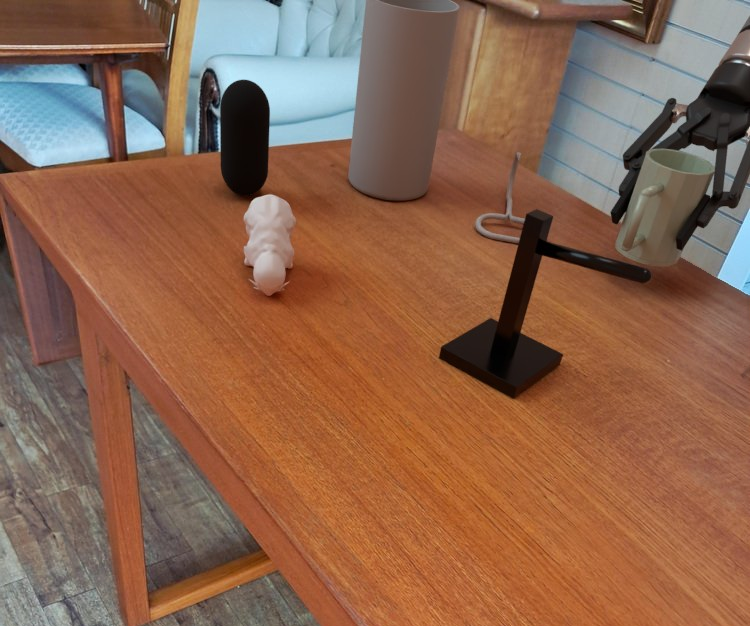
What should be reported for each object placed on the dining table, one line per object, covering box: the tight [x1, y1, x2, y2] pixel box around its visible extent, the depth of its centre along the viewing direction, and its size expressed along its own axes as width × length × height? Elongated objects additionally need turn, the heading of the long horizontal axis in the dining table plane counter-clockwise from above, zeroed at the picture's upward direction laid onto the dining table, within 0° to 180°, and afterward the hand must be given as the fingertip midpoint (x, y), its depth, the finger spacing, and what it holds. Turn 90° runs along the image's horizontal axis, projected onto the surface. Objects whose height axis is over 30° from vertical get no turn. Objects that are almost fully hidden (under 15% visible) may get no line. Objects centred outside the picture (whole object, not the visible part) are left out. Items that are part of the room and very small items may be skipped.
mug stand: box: [438, 208, 653, 399], centre depth 81 cm, size 18×10×17 cm, turn 50°
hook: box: [474, 151, 525, 245], centre depth 118 cm, size 7×9×20 cm
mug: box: [614, 148, 715, 267], centre depth 101 cm, size 13×9×12 cm, turn 140°
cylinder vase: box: [347, 0, 460, 202], centre depth 114 cm, size 12×12×25 cm
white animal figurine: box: [243, 193, 297, 297], centre depth 93 cm, size 6×8×12 cm
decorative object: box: [219, 79, 271, 197], centre depth 108 cm, size 7×7×15 cm
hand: (645, 231), depth 102 cm, fingers closed on mug, 9 cm apart
